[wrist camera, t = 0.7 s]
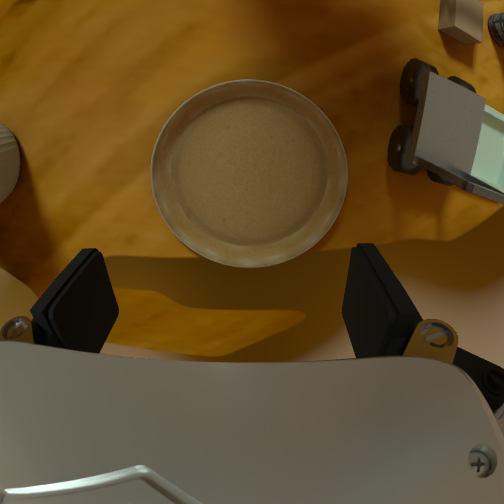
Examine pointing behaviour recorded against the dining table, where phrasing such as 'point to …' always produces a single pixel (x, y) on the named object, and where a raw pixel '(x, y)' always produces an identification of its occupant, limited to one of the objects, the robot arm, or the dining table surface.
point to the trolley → (440, 130)
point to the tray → (490, 150)
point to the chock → (462, 20)
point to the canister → (8, 162)
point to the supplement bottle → (497, 27)
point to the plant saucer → (249, 173)
